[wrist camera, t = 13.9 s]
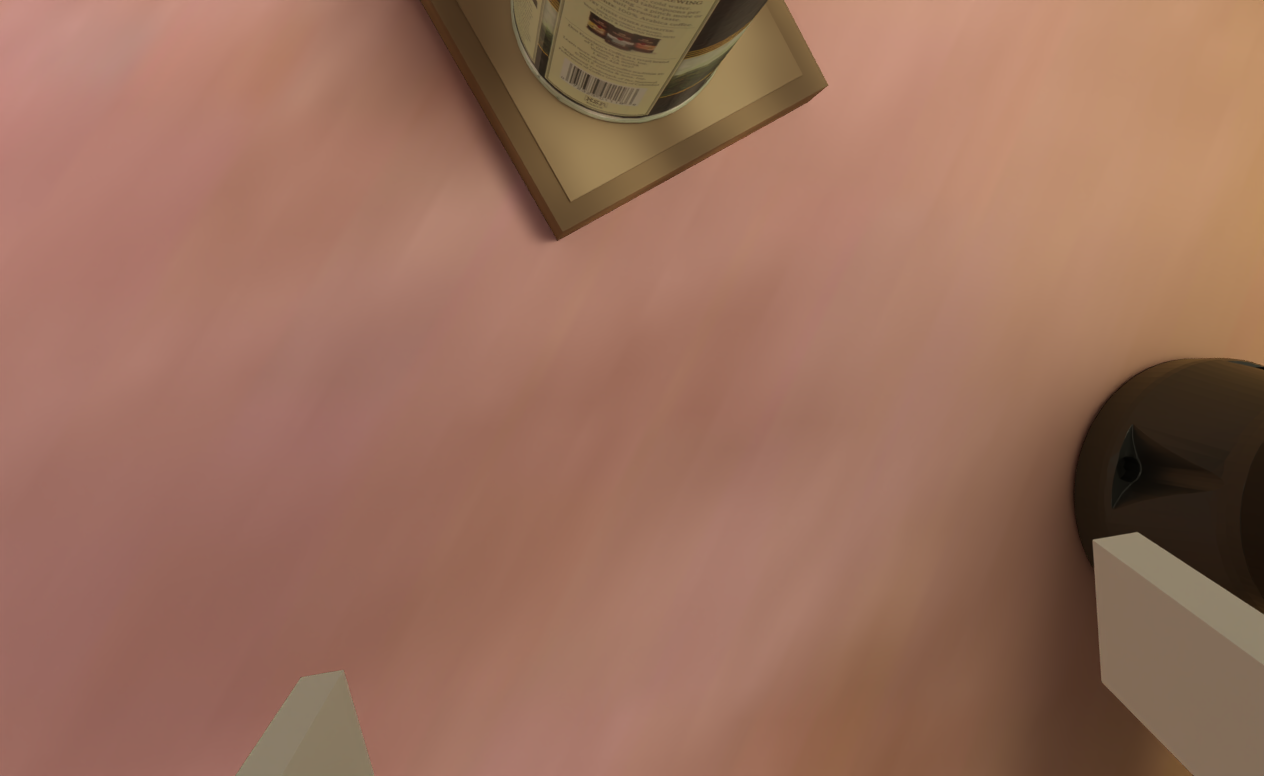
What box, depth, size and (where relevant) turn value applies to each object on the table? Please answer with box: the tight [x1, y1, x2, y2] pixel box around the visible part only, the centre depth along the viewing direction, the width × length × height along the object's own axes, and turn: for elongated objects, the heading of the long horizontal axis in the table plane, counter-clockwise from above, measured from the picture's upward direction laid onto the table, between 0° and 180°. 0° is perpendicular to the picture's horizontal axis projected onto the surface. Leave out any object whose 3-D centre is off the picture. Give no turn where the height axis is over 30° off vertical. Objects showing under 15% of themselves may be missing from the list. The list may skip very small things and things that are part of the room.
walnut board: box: [420, 0, 828, 241], centre depth 40 cm, size 15×15×3 cm
